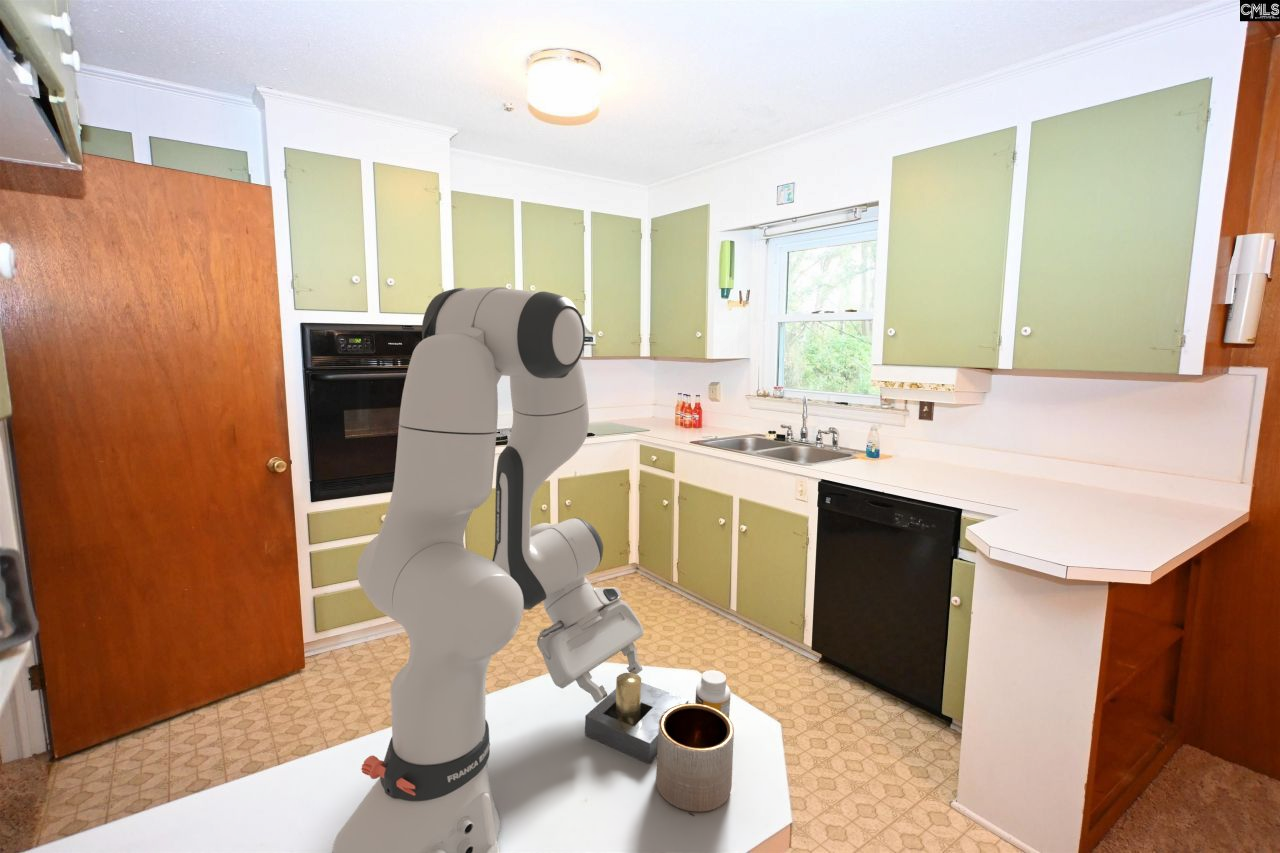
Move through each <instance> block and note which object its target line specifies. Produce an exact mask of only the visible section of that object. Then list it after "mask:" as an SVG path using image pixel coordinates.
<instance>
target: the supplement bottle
mask: <svg viewBox="0 0 1280 853" xmlns="http://www.w3.org/2000/svg"><path fill="white" fill-rule="evenodd" d="M694 704H703V705H707V706H710V707H713V708H715V709H717V710H719V711H721V712H722V713H724V714H725V715H726V716H727V717H728V718H729V719H730V710H731V708H730V707H731V689H730V687H729V686H728V685H727V676H726V674H725V673H723V672H721V671H719V670H714V669H713V670H711V669H709V670H706V671H704V672H703V673H702V675H701V680H700V682H699V683H698V684H697V685H696V689H695V702H694Z"/></svg>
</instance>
